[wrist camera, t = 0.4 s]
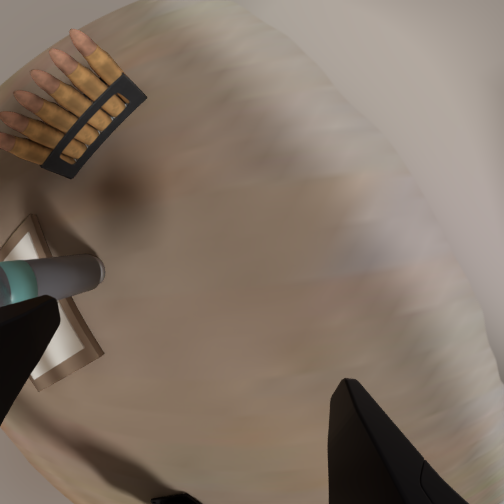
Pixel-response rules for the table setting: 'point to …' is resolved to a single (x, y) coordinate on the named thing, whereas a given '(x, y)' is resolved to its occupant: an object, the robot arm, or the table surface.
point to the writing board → (72, 323)
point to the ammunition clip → (71, 110)
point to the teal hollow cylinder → (49, 277)
